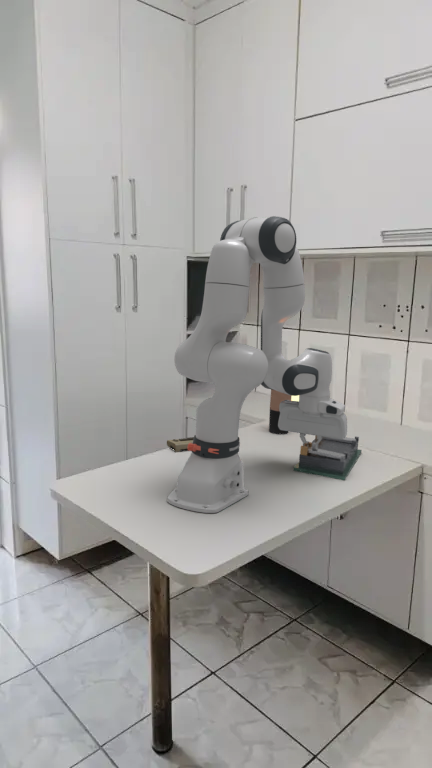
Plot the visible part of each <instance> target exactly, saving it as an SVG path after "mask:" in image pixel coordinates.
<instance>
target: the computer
mask: <svg viewBox="0 0 432 768" xmlns="http://www.w3.org/2000/svg"><path fill="white" fill-rule="evenodd" d="M193 439H194V436H193V437H185V438H177V439H176V438H175V439H167V440H166V446H167V447H168V448H169V449H171V448H172V449H174V450H175V451H174V453H180V452H182V451H181V450H185V451H188V448H187V447H188V444H189V443H192V442H193ZM172 449H171V450H172ZM179 451H180V452H179Z"/></svg>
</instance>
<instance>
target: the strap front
mask: <svg viewBox="0 0 432 768" xmlns="http://www.w3.org/2000/svg"><path fill="white" fill-rule="evenodd" d="M308 453H313V454H318V455H322V456H327V457H331V458H336V459H341V456H344V457H345V455H346V454H341V453H336V452H331V451H327V450H322V449H317V450H314V449H312V447H308Z"/></svg>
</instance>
